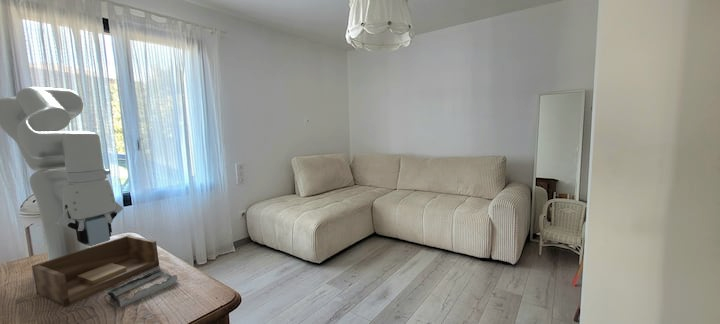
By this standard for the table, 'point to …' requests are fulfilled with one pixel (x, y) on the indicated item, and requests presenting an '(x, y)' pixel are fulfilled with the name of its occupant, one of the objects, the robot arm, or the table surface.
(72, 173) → the robot arm
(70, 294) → the crate
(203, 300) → the table surface
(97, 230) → the block
